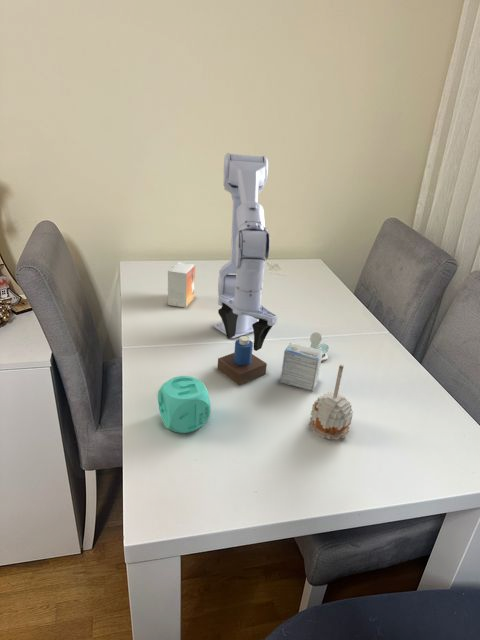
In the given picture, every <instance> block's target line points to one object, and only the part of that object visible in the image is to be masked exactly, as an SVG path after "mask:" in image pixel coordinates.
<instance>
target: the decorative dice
mask: <svg viewBox="0 0 480 640" xmlns="http://www.w3.org/2000/svg"><path fill="white" fill-rule="evenodd" d="M210 399H211V398H210V395H209V391H208V389H207V387H206V385H205V383H204V382H203V381H201V380H200V379H199V378H196V377H194V376H191V375H190V376H189V375H180V376H179V375H178V376H174V377H172V378H170V379H168V380H167V381H165V382H164V383H163V384H162V385H161V387H160V388H159V389H158V391H157V405H158V410H159V415H160V418H161V421H162V423H163V425H164V427H165V428H166V429H167V430H169V431H171V432H174V433H178V434H179V433H180V434H187V433H192V432H195V431H197V430H198V429H201V428H202V427H203V426H204V425H205V424H206V423H207V421H208V420H209V418H210V417H211V409H212V407H211V400H210Z"/></svg>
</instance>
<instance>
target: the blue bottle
mask: <svg viewBox="0 0 480 640" xmlns="http://www.w3.org/2000/svg"><path fill="white" fill-rule="evenodd" d="M253 349H254V342H253V341H251V339H250V337H249V336H247V335H243V336H240V337H239V338H238V339H236V340H235V342H234V351H233V353H234V362H235V363H236V364H238V365H242V366H245V365H249V364H250V363H251V358H252V354H253Z"/></svg>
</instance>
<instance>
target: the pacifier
mask: <svg viewBox="0 0 480 640" xmlns="http://www.w3.org/2000/svg"><path fill="white" fill-rule="evenodd" d="M309 340H310V346H309V347H310V348H314V349H318V350H322V351H323V354H322V360H321V362H324V361H326V360H328V359H329V354H327V353H328V351H329V345H328V344H326V343H321V342H322V340H323V337H322V334H321V333H320V332H318V331H314V332H312V334H311V335H310V337H309Z"/></svg>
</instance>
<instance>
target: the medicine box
mask: <svg viewBox="0 0 480 640" xmlns="http://www.w3.org/2000/svg"><path fill="white" fill-rule="evenodd" d="M310 347H311V346H306V345H302V344H297V343H293V342H290V343H289V344H288V346H287V347H286V348H285V350H284V351H283V359H282V360H283V362H282V367H281V374H280V383H281V384H285V385H289V386H292V387H296V388H301V389H304V390H307V391H311V392H314V391H315V389H316V386H317V384H318V382H319V376H320V371H321V365H322V361H321V360H322V358H323V355H322V354H323V351H322V350H318V349H314V348H310Z"/></svg>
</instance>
